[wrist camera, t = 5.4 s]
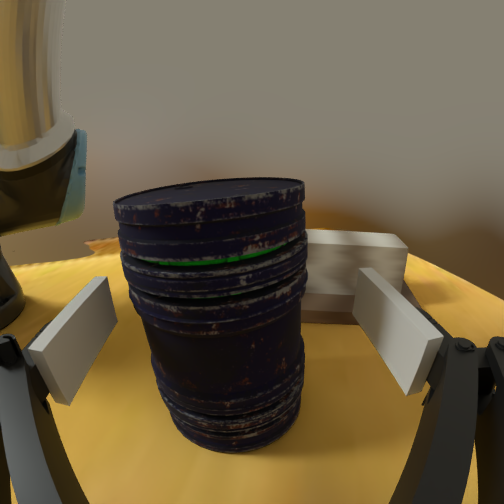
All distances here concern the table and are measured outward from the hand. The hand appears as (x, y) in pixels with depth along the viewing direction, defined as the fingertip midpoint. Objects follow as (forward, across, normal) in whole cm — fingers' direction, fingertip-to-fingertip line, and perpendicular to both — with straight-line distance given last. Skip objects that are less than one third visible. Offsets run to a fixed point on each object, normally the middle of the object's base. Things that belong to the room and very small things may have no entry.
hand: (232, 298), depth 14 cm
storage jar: (+2, 0, -10) cm, 10 cm away
